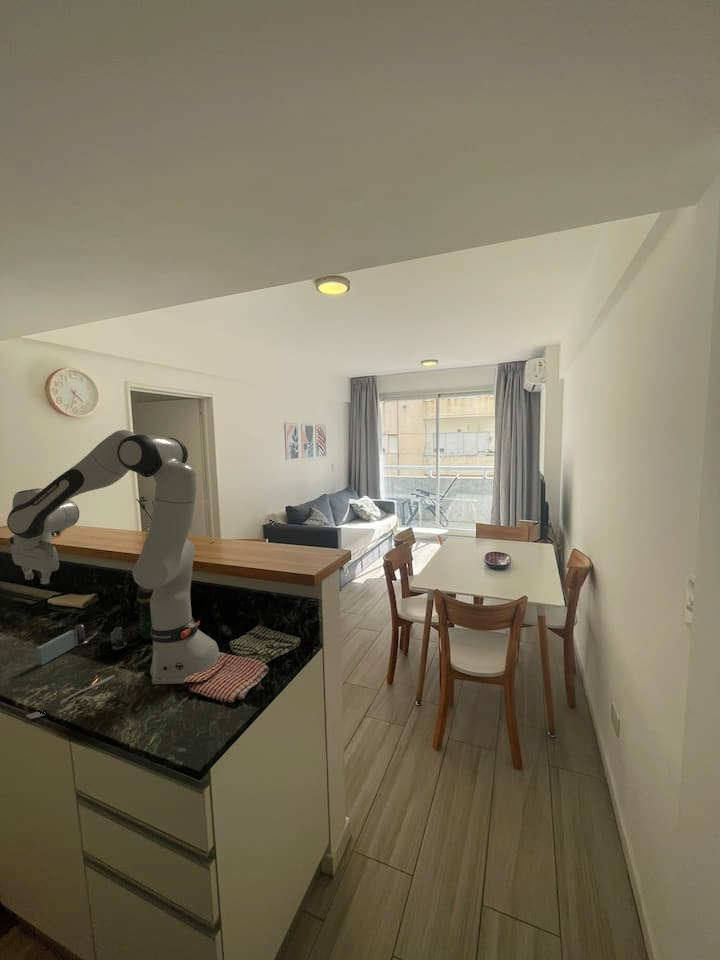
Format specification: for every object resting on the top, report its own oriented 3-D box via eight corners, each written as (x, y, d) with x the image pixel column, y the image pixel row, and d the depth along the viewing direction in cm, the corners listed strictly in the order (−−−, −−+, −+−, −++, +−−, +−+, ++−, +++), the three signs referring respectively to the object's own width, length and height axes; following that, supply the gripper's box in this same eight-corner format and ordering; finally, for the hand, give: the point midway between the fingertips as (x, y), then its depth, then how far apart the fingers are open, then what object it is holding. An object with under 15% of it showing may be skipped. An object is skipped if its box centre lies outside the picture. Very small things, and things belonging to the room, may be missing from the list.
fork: (128, 672, 115) (127, 666, 115) (30, 725, 94) (29, 719, 94) (122, 669, 117) (121, 664, 116) (24, 721, 95) (23, 715, 95)
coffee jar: (145, 642, 132) (140, 591, 130) (137, 635, 137) (132, 586, 135) (173, 631, 139) (169, 582, 137) (164, 625, 144) (160, 578, 143)
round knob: (92, 640, 135) (90, 622, 134) (80, 646, 130) (78, 629, 130) (82, 639, 136) (80, 622, 135) (70, 645, 131) (68, 628, 131)
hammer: (131, 642, 132) (129, 625, 131) (119, 650, 127) (118, 632, 126) (115, 641, 133) (113, 623, 133) (103, 648, 128) (101, 630, 128)
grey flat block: (73, 644, 131) (71, 629, 131) (78, 644, 131) (76, 629, 130) (37, 664, 120) (35, 648, 119) (42, 664, 119) (40, 648, 119)
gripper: (63, 540, 118) (66, 583, 119) (29, 533, 127) (32, 573, 128) (39, 545, 112) (43, 590, 114) (5, 538, 121) (9, 579, 122)
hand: (37, 581), depth 121 cm, fingers open, 8 cm apart
